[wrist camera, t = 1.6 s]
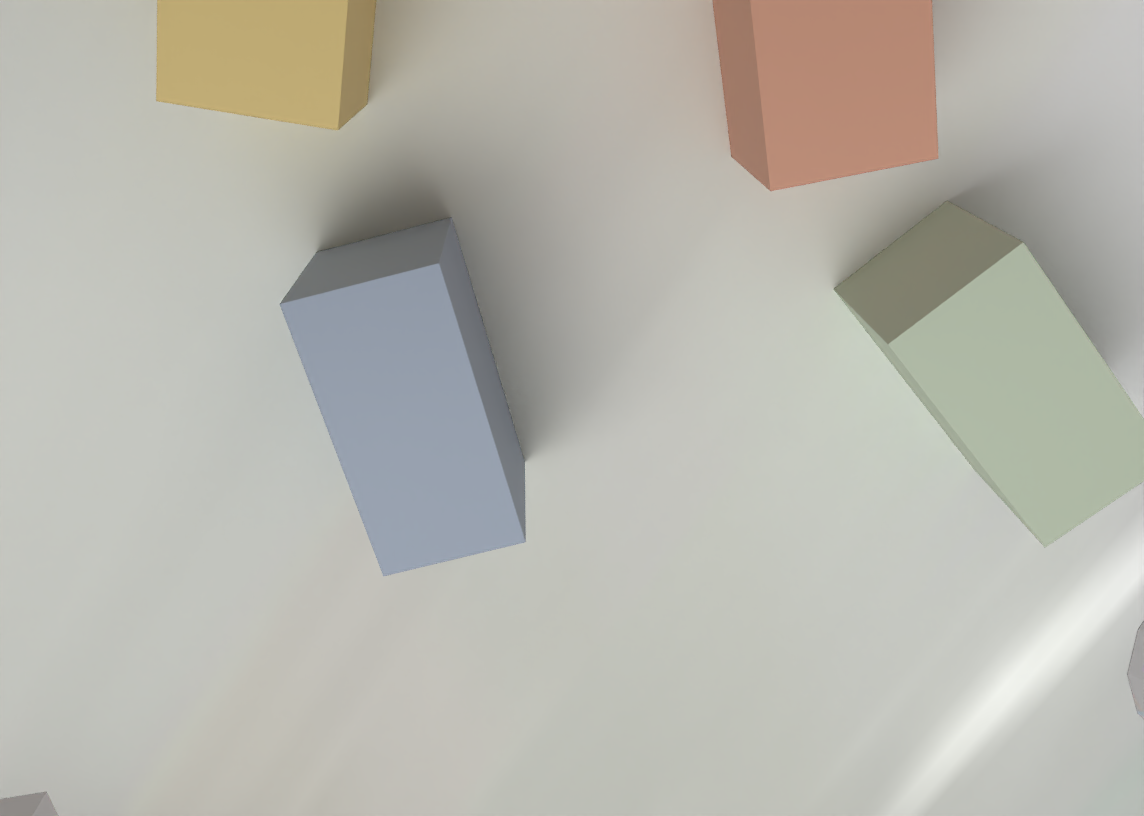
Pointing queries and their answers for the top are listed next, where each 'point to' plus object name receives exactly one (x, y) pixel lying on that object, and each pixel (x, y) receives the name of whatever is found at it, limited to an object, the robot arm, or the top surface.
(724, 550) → the top surface
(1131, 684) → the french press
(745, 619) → the top surface
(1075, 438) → the sage brick
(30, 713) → the top surface
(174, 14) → the ochre brick
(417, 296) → the slate brick
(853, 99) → the terracotta brick
